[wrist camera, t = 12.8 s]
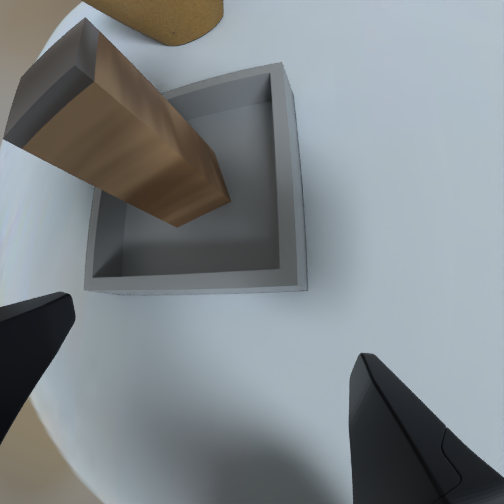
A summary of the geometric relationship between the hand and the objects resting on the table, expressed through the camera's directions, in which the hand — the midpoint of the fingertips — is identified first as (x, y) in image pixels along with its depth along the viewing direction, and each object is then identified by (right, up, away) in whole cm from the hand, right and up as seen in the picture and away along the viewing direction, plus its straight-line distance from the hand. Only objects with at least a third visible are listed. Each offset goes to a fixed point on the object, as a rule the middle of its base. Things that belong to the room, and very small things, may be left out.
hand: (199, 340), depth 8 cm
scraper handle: (-2, +7, +11) cm, 13 cm away
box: (-2, +7, +12) cm, 14 cm away
